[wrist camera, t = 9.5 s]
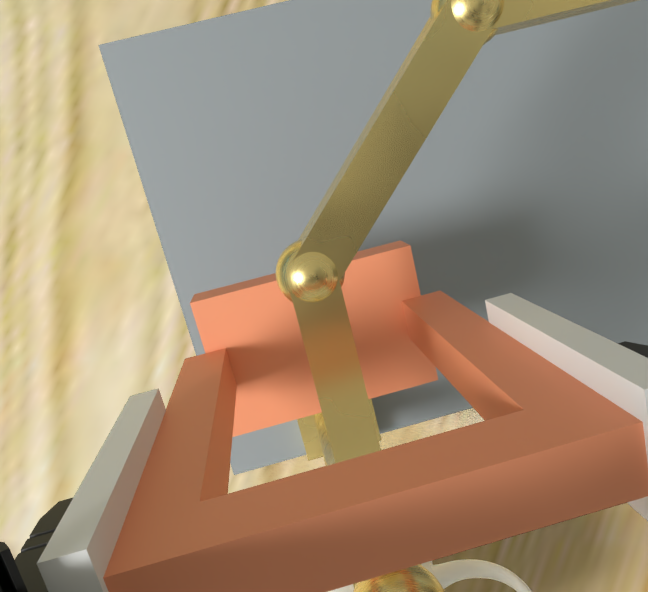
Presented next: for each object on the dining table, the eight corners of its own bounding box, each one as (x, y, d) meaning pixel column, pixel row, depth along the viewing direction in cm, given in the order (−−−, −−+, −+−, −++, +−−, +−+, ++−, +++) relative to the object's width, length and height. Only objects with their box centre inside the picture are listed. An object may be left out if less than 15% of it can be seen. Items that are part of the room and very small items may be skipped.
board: (650, -77, 26) (668, -89, 24) (688, 335, 30) (706, 341, 29) (106, 51, 24) (98, 45, 23) (235, 462, 29) (234, 474, 28)
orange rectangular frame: (174, 299, 20) (61, 477, 8) (418, 235, 21) (631, 319, 9) (214, 425, 21) (164, 735, 10) (444, 361, 22) (662, 582, 10)
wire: (539, 21, 25) (911, -177, 11) (588, 371, 29) (908, 564, 15) (209, 101, 24) (141, 0, 10) (306, 450, 28) (356, 736, 14)
